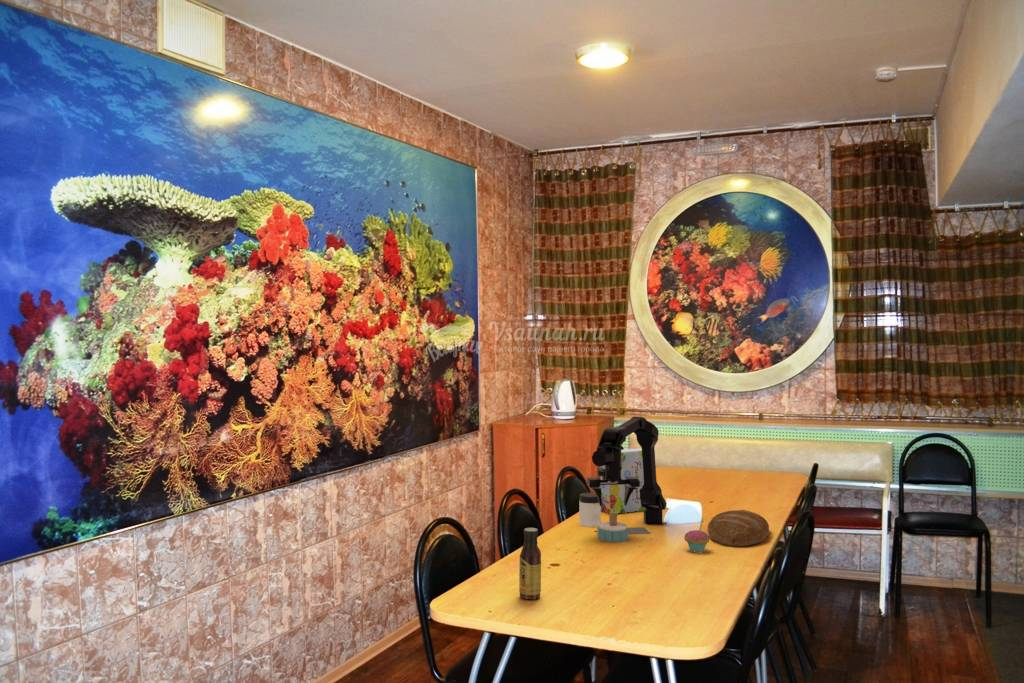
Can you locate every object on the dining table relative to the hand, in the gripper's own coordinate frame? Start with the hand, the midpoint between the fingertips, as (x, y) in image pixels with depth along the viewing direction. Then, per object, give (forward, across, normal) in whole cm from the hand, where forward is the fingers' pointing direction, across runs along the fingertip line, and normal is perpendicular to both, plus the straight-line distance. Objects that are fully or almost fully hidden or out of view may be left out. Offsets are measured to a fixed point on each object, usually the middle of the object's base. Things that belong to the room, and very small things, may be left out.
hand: (612, 505), depth 311 cm
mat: (+12, -11, -10) cm, 19 cm away
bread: (+13, -48, -1) cm, 50 cm away
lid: (+8, 0, 0) cm, 8 cm away
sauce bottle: (+13, +40, +62) cm, 75 cm away
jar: (+12, +4, -22) cm, 26 cm away
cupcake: (+12, -25, +19) cm, 34 cm away
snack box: (+12, -18, -46) cm, 50 cm away
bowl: (+12, 0, 0) cm, 12 cm away
